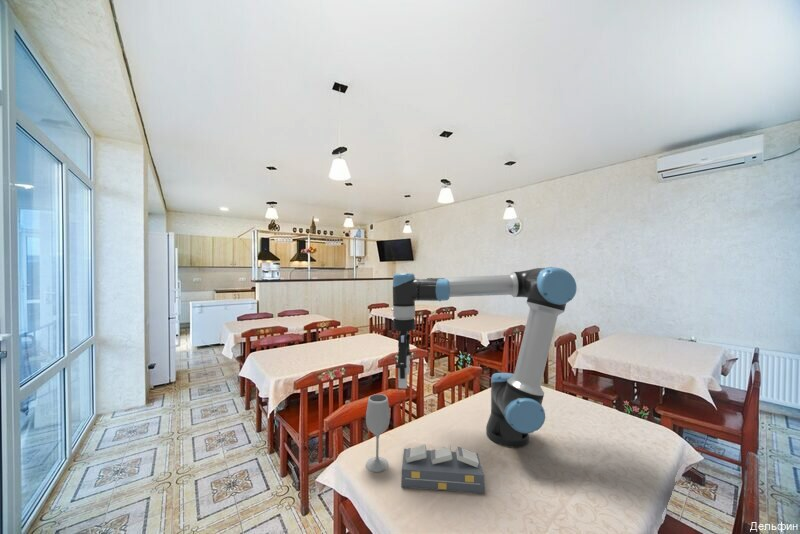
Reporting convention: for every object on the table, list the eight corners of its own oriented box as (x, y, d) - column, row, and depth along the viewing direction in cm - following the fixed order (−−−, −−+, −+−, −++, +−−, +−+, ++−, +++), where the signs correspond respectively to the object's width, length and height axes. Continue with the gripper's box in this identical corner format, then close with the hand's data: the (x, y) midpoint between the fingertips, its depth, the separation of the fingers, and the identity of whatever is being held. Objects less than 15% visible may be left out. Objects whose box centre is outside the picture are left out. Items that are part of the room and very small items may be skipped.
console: (477, 469, 92) (477, 453, 92) (484, 494, 82) (484, 475, 82) (404, 464, 94) (404, 448, 94) (401, 487, 84) (401, 469, 84)
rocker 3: (474, 458, 89) (476, 453, 89) (477, 467, 85) (478, 462, 85) (455, 450, 90) (457, 446, 90) (457, 459, 86) (458, 454, 86)
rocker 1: (426, 448, 91) (425, 444, 91) (426, 457, 86) (425, 452, 86) (407, 453, 91) (406, 448, 91) (407, 462, 87) (405, 457, 87)
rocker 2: (451, 450, 90) (449, 445, 90) (452, 459, 86) (450, 454, 86) (432, 455, 91) (430, 450, 91) (432, 464, 86) (431, 459, 86)
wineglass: (365, 457, 97) (366, 393, 98) (388, 456, 98) (389, 392, 98) (364, 473, 90) (365, 403, 90) (389, 472, 90) (390, 402, 91)
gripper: (396, 313, 114) (397, 368, 114) (388, 323, 90) (388, 394, 89) (416, 313, 114) (416, 369, 113) (413, 324, 89) (413, 395, 88)
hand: (404, 380), depth 101 cm, fingers open, 13 cm apart
